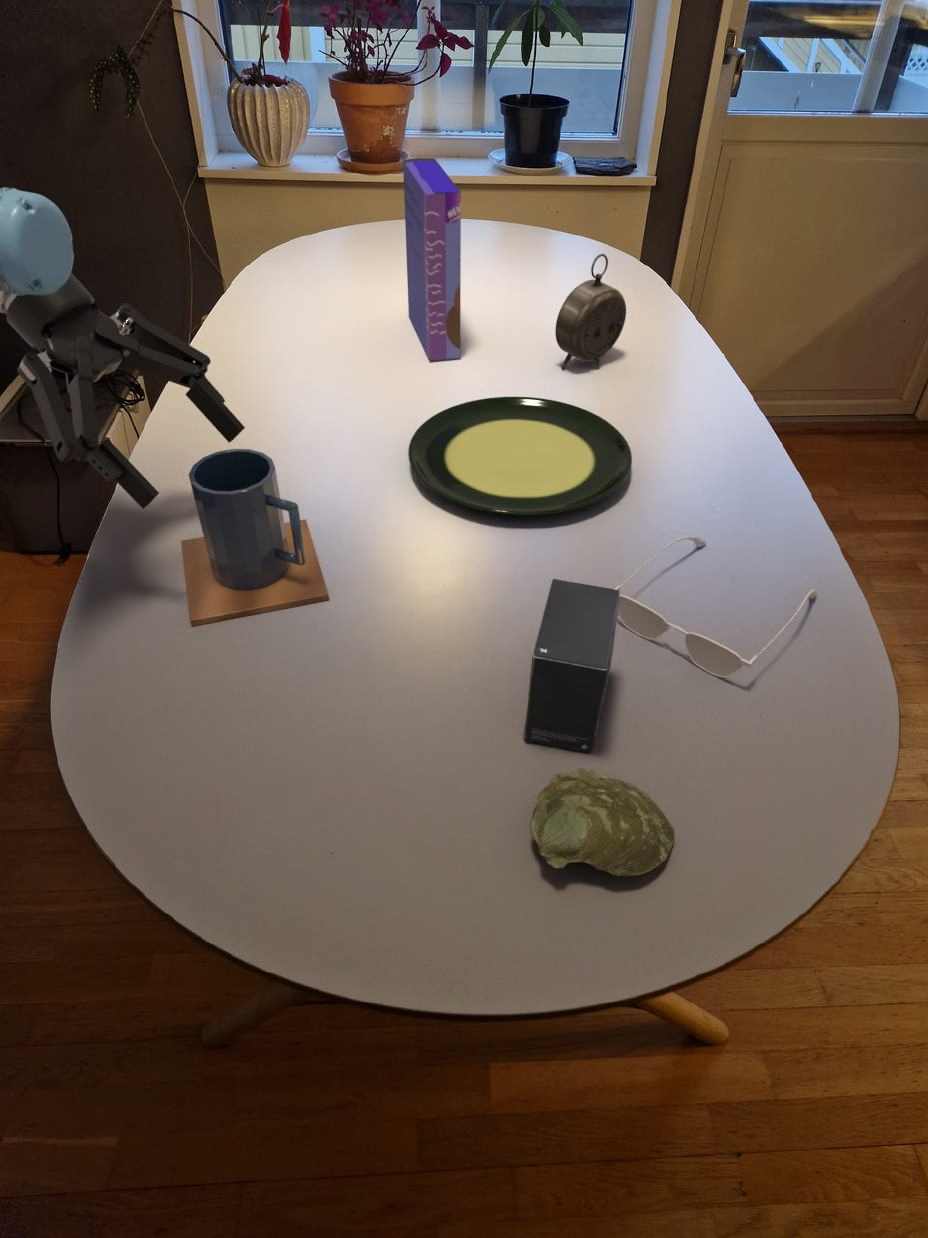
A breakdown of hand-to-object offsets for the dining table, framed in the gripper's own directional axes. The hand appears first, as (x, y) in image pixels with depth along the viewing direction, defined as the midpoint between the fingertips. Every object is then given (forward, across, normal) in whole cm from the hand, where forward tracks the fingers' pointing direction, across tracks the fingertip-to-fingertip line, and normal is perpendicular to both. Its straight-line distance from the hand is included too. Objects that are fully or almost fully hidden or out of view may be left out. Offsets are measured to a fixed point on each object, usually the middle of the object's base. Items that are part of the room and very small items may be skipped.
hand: (196, 466), depth 86 cm
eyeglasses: (+45, -16, +28) cm, 55 cm away
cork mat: (+12, 0, -6) cm, 13 cm away
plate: (+24, -33, +7) cm, 41 cm away
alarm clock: (+23, -64, +6) cm, 68 cm away
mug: (+12, 0, -4) cm, 13 cm away
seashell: (+43, +16, +26) cm, 53 cm away
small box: (+38, +4, +21) cm, 44 cm away
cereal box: (+5, -62, -12) cm, 64 cm away
